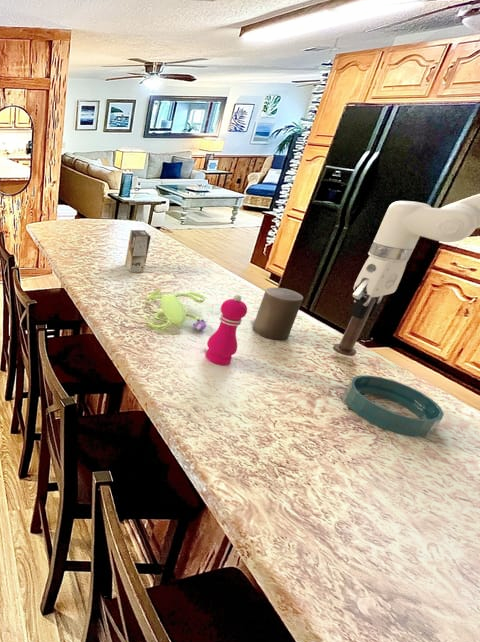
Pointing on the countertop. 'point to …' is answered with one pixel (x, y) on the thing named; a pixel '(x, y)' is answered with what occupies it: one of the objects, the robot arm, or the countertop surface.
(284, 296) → the pillar candle
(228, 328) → the pepper mill
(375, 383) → the ring
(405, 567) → the countertop surface
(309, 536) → the countertop surface
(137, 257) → the coffee box
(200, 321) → the figurine
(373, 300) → the stick
